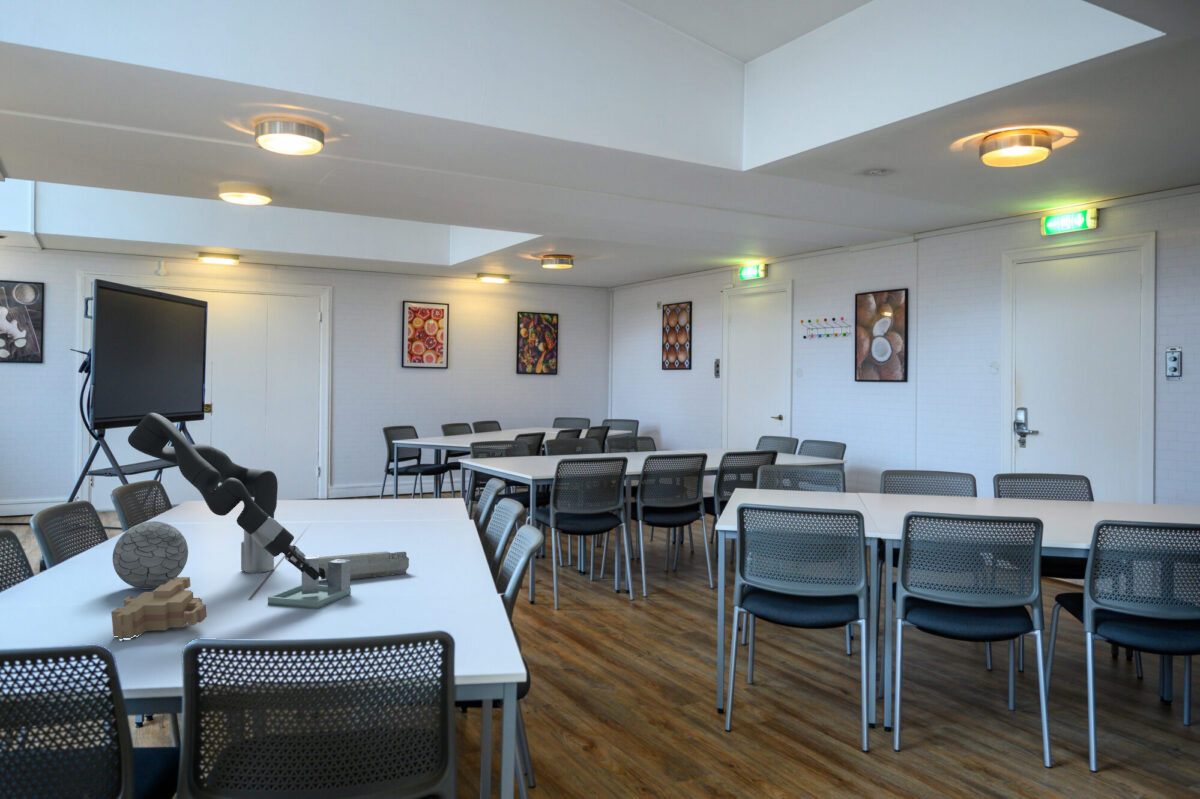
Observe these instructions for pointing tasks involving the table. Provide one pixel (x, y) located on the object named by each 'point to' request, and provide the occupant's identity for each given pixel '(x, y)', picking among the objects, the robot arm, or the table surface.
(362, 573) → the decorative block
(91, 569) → the table surface
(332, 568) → the post
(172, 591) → the toy
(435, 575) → the table surface
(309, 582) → the post
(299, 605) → the tray
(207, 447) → the robot arm
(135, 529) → the decorative sphere
